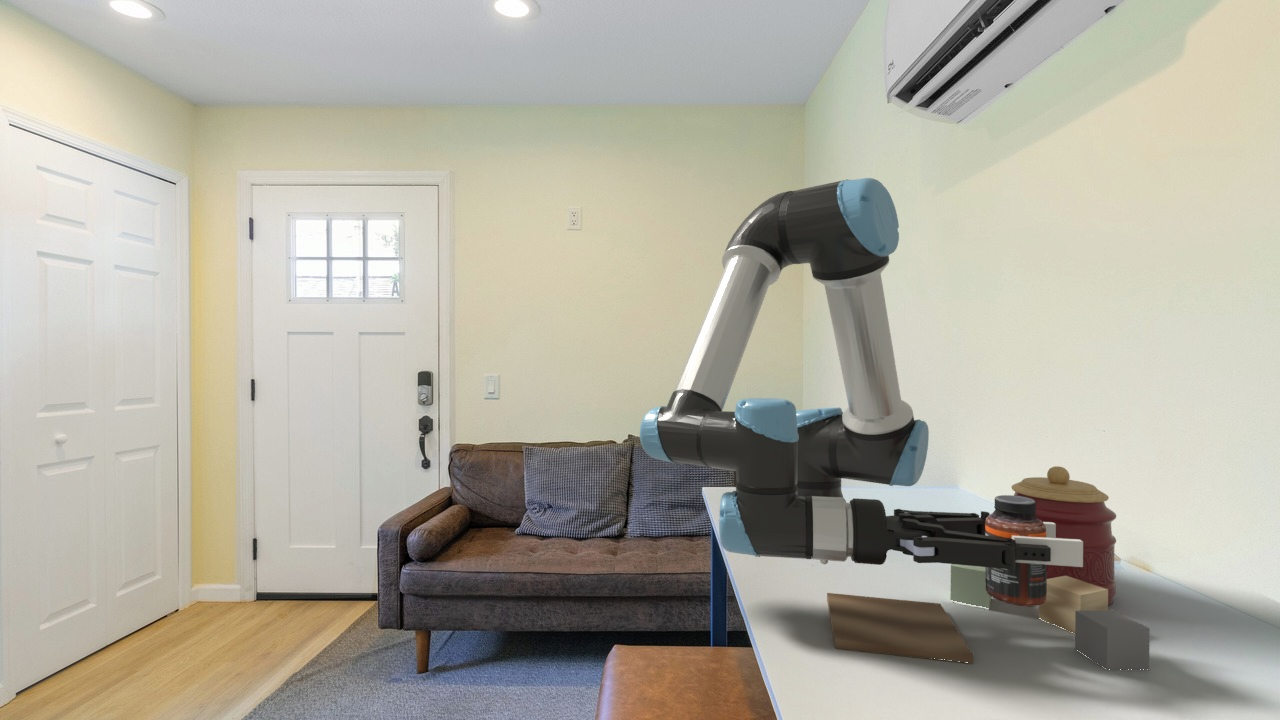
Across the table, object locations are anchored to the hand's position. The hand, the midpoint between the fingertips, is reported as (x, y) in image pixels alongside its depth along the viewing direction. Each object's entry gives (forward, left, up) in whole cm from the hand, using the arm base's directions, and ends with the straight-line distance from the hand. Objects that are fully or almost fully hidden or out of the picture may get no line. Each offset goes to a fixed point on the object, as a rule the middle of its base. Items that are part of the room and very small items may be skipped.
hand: (1066, 543), depth 67 cm
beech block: (-8, +4, -12) cm, 15 cm away
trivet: (-1, -18, -12) cm, 22 cm away
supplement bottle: (0, -5, -7) cm, 9 cm away
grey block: (+1, +4, -12) cm, 13 cm away
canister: (-20, +7, -12) cm, 25 cm away
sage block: (-13, -6, -12) cm, 19 cm away
